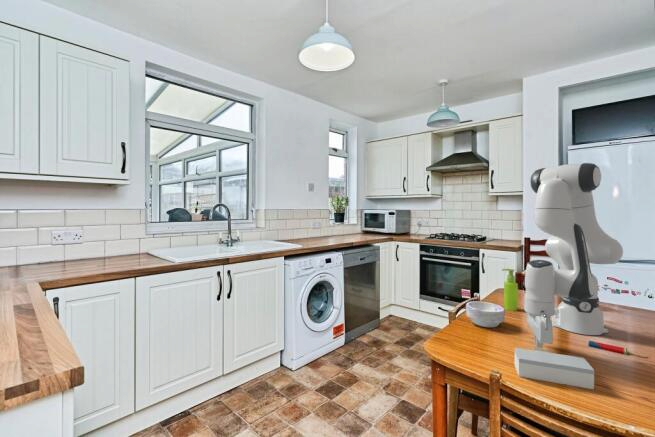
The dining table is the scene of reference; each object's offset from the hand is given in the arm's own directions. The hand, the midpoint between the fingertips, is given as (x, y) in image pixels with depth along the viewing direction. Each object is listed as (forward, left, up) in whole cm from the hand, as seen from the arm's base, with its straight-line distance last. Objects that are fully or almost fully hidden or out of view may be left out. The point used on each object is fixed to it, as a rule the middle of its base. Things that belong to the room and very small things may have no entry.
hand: (538, 346), depth 111 cm
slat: (+11, 0, -2) cm, 11 cm away
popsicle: (-11, +25, -3) cm, 28 cm away
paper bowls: (-23, -15, -2) cm, 28 cm away
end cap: (+18, 0, -2) cm, 18 cm away
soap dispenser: (-51, -2, -2) cm, 51 cm away
